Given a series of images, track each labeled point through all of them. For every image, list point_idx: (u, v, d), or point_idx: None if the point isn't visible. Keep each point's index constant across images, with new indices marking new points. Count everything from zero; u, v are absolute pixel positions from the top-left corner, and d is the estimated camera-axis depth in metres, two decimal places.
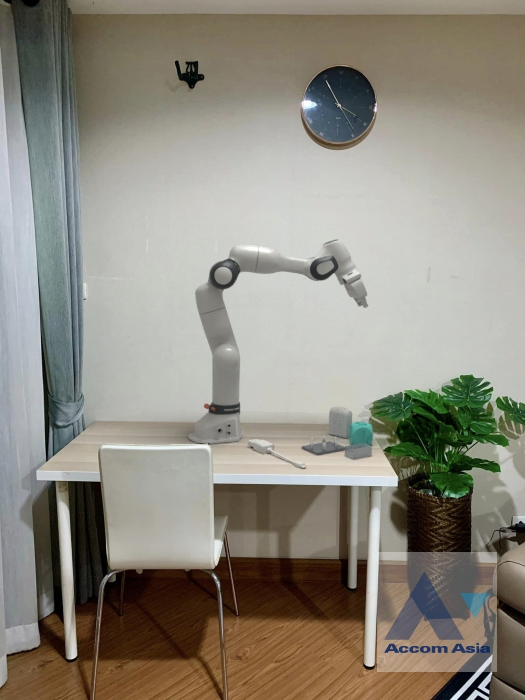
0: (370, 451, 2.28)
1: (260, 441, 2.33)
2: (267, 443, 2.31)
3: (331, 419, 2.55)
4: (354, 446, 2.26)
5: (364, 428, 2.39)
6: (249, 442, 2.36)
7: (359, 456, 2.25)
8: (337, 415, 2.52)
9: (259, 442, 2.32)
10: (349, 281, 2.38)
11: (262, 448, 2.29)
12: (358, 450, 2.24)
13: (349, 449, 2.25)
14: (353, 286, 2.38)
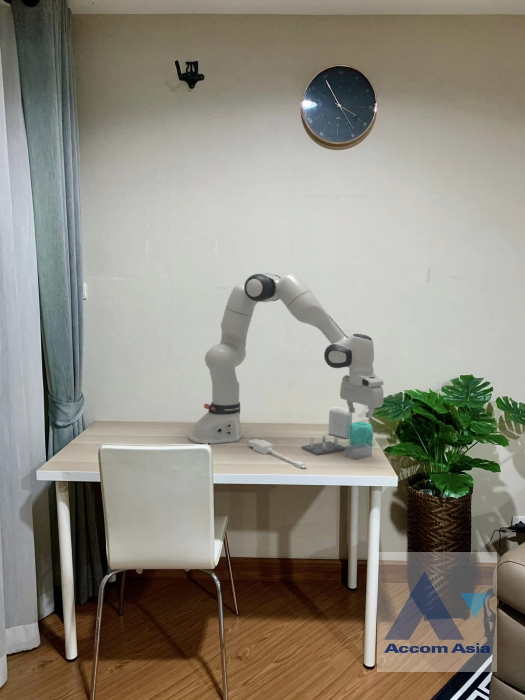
0: (370, 451, 2.28)
1: (260, 441, 2.33)
2: (267, 443, 2.31)
3: (331, 419, 2.55)
4: (354, 446, 2.26)
5: (364, 428, 2.39)
6: (249, 442, 2.36)
7: (359, 456, 2.25)
8: (337, 415, 2.52)
9: (259, 442, 2.32)
10: (373, 385, 2.16)
11: (262, 448, 2.28)
12: (358, 450, 2.24)
13: (349, 449, 2.25)
14: (375, 392, 2.16)
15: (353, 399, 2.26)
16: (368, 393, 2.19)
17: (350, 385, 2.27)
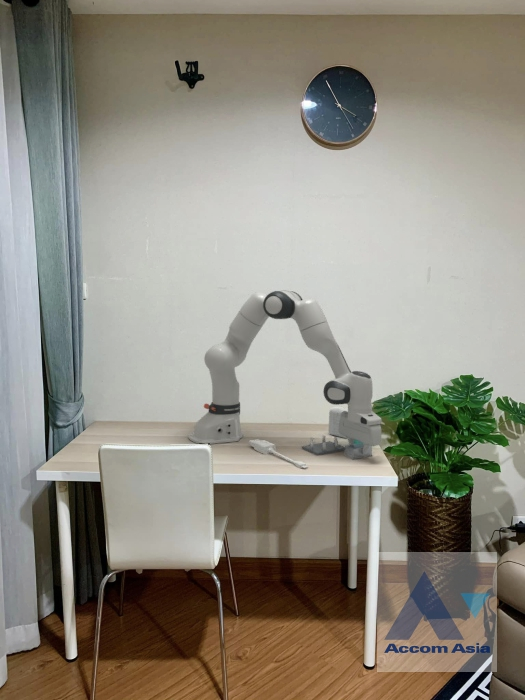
0: (370, 451, 2.27)
1: (261, 441, 2.33)
2: (268, 443, 2.31)
3: (331, 419, 2.55)
4: (354, 446, 2.26)
5: None
6: (250, 442, 2.36)
7: (359, 456, 2.25)
8: (337, 415, 2.52)
9: (260, 442, 2.32)
10: (371, 423, 2.18)
11: (263, 448, 2.28)
12: (358, 450, 2.24)
13: (349, 449, 2.25)
14: (373, 430, 2.17)
15: (351, 435, 2.27)
16: (366, 431, 2.21)
17: (348, 421, 2.28)
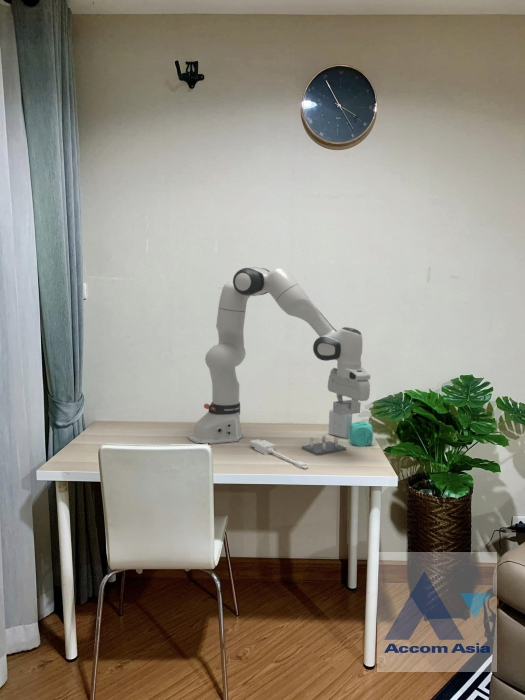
0: (358, 407, 2.28)
1: (261, 441, 2.33)
2: (268, 443, 2.31)
3: (331, 419, 2.55)
4: (343, 402, 2.27)
5: (364, 428, 2.39)
6: (250, 442, 2.36)
7: (347, 411, 2.25)
8: (337, 415, 2.52)
9: (260, 442, 2.32)
10: (359, 378, 2.18)
11: (263, 448, 2.28)
12: (346, 405, 2.25)
13: (337, 404, 2.25)
14: (361, 385, 2.18)
15: (340, 392, 2.28)
16: (355, 386, 2.21)
17: (338, 378, 2.29)
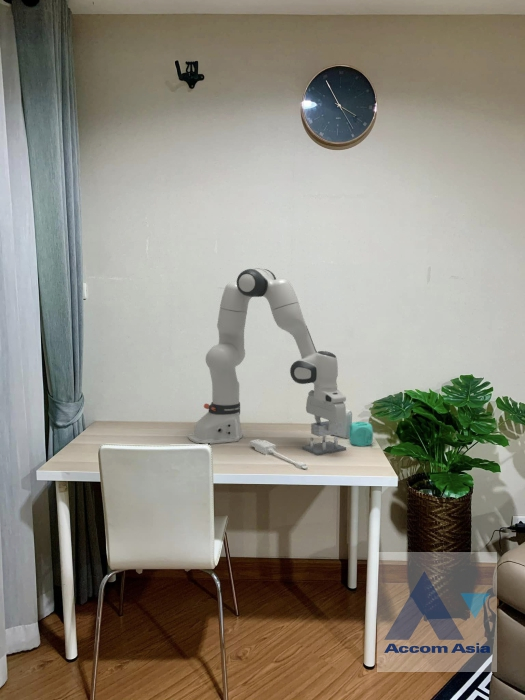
0: (336, 428, 2.34)
1: (262, 441, 2.33)
2: (269, 444, 2.31)
3: None
4: (320, 423, 2.33)
5: (364, 428, 2.39)
6: (251, 442, 2.36)
7: (325, 433, 2.32)
8: None
9: (261, 442, 2.31)
10: (335, 401, 2.24)
11: (263, 448, 2.28)
12: (324, 427, 2.31)
13: (315, 426, 2.32)
14: (337, 407, 2.24)
15: (318, 413, 2.34)
16: (331, 408, 2.28)
17: (315, 400, 2.35)
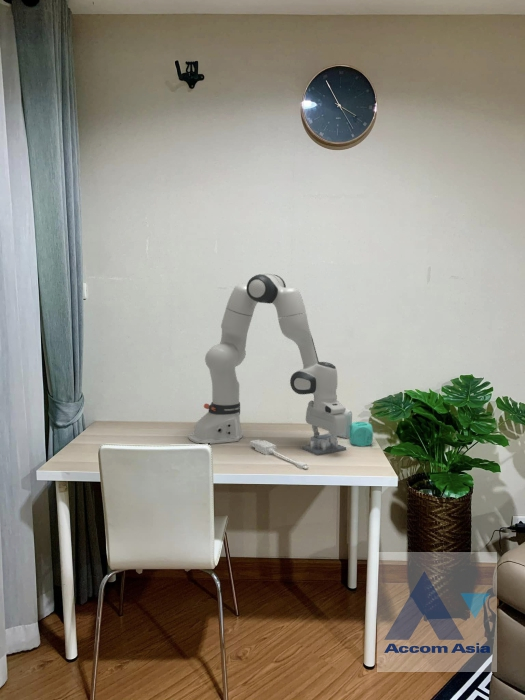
0: None
1: (262, 442, 2.32)
2: (269, 444, 2.30)
3: None
4: (319, 436, 2.34)
5: (364, 428, 2.39)
6: (251, 443, 2.35)
7: None
8: None
9: (261, 443, 2.31)
10: (335, 412, 2.25)
11: (264, 449, 2.28)
12: (323, 440, 2.32)
13: (314, 439, 2.32)
14: (337, 419, 2.25)
15: (317, 424, 2.35)
16: (331, 419, 2.28)
17: (315, 410, 2.36)
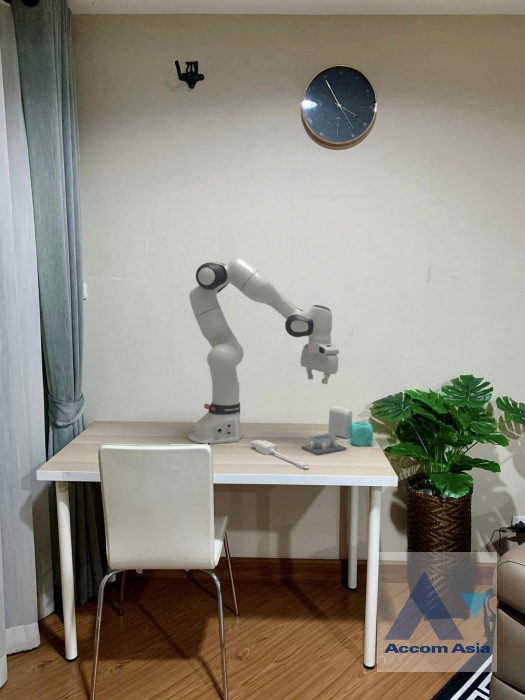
0: None
1: (262, 442, 2.32)
2: (270, 444, 2.30)
3: (331, 419, 2.55)
4: (319, 436, 2.34)
5: (364, 428, 2.39)
6: (251, 443, 2.35)
7: None
8: (337, 415, 2.52)
9: (262, 443, 2.31)
10: (328, 352, 2.30)
11: (264, 449, 2.28)
12: (323, 440, 2.32)
13: (314, 439, 2.32)
14: (330, 359, 2.30)
15: (311, 366, 2.40)
16: (324, 360, 2.34)
17: (309, 353, 2.41)
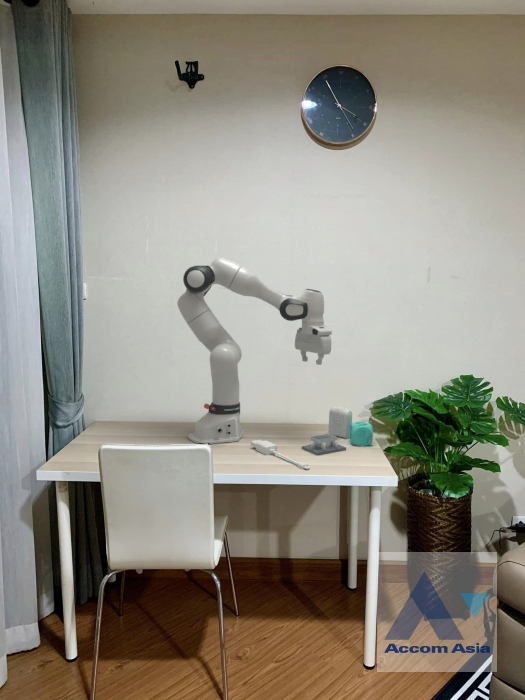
0: None
1: (263, 442, 2.32)
2: (270, 444, 2.30)
3: (331, 419, 2.55)
4: (319, 436, 2.34)
5: (364, 428, 2.39)
6: (252, 443, 2.35)
7: None
8: (337, 415, 2.52)
9: (262, 443, 2.31)
10: (321, 333, 2.39)
11: (265, 449, 2.27)
12: (323, 440, 2.32)
13: (314, 439, 2.32)
14: (323, 340, 2.39)
15: (305, 348, 2.49)
16: (318, 342, 2.42)
17: (303, 336, 2.49)
